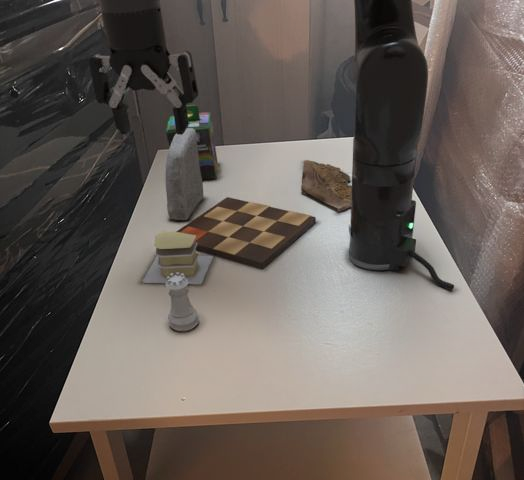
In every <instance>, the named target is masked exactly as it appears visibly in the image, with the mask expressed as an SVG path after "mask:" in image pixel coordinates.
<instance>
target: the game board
mask: <svg viewBox="0 0 524 480" xmlns="http://www.w3.org/2000/svg"><path fill="white" fill-rule="evenodd" d="M316 221H317V219H316V216H313V215H310V214H307V213H302V212H298V211H294V210H287V209H282V208H278V207H274V206H270V205H267V204H264V203H263V204H262V203H258V202H254V201H246V200H242V199H239V198H233V197H229V196H226V197H225V198H224V199H222V200H221V201H219V202H218V203H216V204H215V205H212V207H210V208H209V209H207V210H206V211H204V212H203V213H202V214H200V215H198V216H197V217H196V218H194V219H193V220H191V221H189V222H188V223H186V224H185V225H184V226H182V227H180V228H179V229H177V231H175V232H180V233H186V234H191V235H196V237H195V239H194V241H193V242H197V246H196V251H199V252H202V253H205V254H208V255H209V254H210V255H211V256H216V257H218V258H219V257H220V258H223V259H226V260H230V261H233V262H236V263H240V264H243V265H248V266H250V267H255V268H257V269H261V270H263V269H264V268H266V266H268V265H269V264H270V263H271V262H272V261H274V260H275V259H276V258H277V257H278V256H279V255H281V254H282V253H283V252H284V251H285V250H286V249H288V248H289V247H290V246H291V245H292V244H293V243H294V242H295V241H296V240H298V239H299V238H300V237H301V236H302V235H303V234H305V233H306V232H307V231H308V230H310V228H312V227H313V226H314V225H315V224H316Z"/></svg>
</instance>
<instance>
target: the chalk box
mask: <svg viewBox="0 0 524 480" xmlns="http://www.w3.org/2000/svg"><path fill="white" fill-rule="evenodd" d="M186 107H187V111H189V112H191V113H187V114H188V121H189V125H188V128H193V129H194V130H195V131H196V136H197V147H198V158H199V167H200V172H201V177H202V181H209V180H210V181H211V180H214V181H215V180H216V179H217V174H218V163H219V162H218V156H217V155H218V154H217V149H216V141H215V134H214V127H213V121H212V114H211V112H210V111H205V112H199V106H198V105H197V104H186ZM165 133H166V139H167V145H168V149H169V148H170V145H171V143H172V140H173V138H174V136H175V135H176V126H175V120H174V115H171V116H170V117H169V118H168V121H167V126H166V130H165Z"/></svg>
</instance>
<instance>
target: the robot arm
mask: <svg viewBox="0 0 524 480" xmlns="http://www.w3.org/2000/svg"><path fill="white" fill-rule="evenodd" d="M98 3H99V8H100V13H101V17H102V22H103V28H104V32H105V36H106V40H107V46H108V48H109V51H110V52H109V53H110V55H104V53H102V52H98V53H96V54H95V55H93V56H92V57H90V58H89V60H88V61H89V63H88V64H89V67H90V73H91V78H92V83H93V89H94V95H95V99H96V102H97V103H99V104H105V105H108V106H109V108H111V112H112V116H113V120H114V125H115V128H116V129H117V131H119V133H120V134H121V135H127V134H128V133H129V132H131V124H130V118H129V115H128V110H127V105H126V104H127V103H124V102H125V101H124V100H125V98H126V96H127V94H128V93H129V91H130V89H131V90H132V91H140V90H147V91H155V90H158V91H159V92H160V94H161V95H162V96H163V97H166V98H167V99H168V101H170V103H171V104H172V105H173V108H172V114H173V116H174V120H175V126H176V133H177V135H182V134H183V133H184V132H185V130H186V129H187V128H188V125H189V121H188V114H189V113H188V110H187V107H186V105H189V104H191V103H193V102H194V101H195V100H196V99H197V98H198V96H199V90H198V88H199V87H198V84H197V78H196V74H195V73H196V72H195V67H194V62H193V56H192V53H191V52H190V51H189V50H184V51H183V52H182V53H173V54H171V53H170V52H169V50H168V48H167V41H166V32H165V27H164V21H163V14H162V7H161V0H98ZM353 3H354V4H353V5H354V29H355V30H354V34H355V35H354V77H355V83H356V89H355V90H356V91H355V93H356V94H355V117H354V132H353V134H354V135H353V139H352V166H351V168H352V170H351V186H352V194H351V207H350V223H349V224H348V233H349V248H348V259H349V260H350V261H351V263H352V264H354V265H355V266H357V267H359V268H362V269H364V270H370V271H393V272H397V271H398V270H399V268H400V267H406V265H408V263H409V261H411V260H412V259H413V260H415V261H417V262H418V263H420V264H421V265H422V266H423V267H424V268H425V269H426V270H427V271H428V273H429V275H430V277H431V279H432V280H433V282H435V283H436V284H437V285H438V286H440V287H442V288H445V289H448V290H450V291H452V290H453V289H454V288H455V284H453V283H452V282H451V283H450V282H448V281H445V280H443V279H441V278H440V277H439V276H438V273H437V272H436V270H435V267H433V266H432V264H431V263H430V262H428V261H427V260H426V259H425V258H424V257H422V256H421V255H419V254H418V253H416V246H417V239H416V238H413V236H414V226H415V219H416V218H415V217H416V207H417V201H416V200H413V192H414V183H415V182H414V181H415V174H416V164H417V163H416V162H417V154H418V146H419V143H420V141H421V138H422V137H421V136H422V133H423V126H424V117H425V110H426V101H427V93H428V85H429V66H428V61H427V58H426V55H425V53H424V52H423V50H422V48H421V46H420V45H419V43H418V42H419V41H418V38H417V37H418V36H417V32H416V26H415V19H414V18H415V17H414V11H413V9H414V8H413V1H412V0H354V1H353ZM171 66H173V67H174V70H175V71H176V72H177V73H179V75H180V82H181V86H182V89H181V88H180V87H179V86H178V83H177V81H176V79H174V77H173V76H172V75H171V74H170V73H169V70H170V67H171ZM110 68H111V69H112V70H113V71H114V72H115V74H116V75H117V76H118V79H117V81H116V83H115V86H114V87H113V90H112V91H113V92H111V88H110V81H109V75H108V73H109V71H110Z"/></svg>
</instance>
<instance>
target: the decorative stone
mask: <svg viewBox="0 0 524 480" xmlns="http://www.w3.org/2000/svg"><path fill="white" fill-rule="evenodd" d="M164 172H165V192H166V208H167V210H166V211H167V214H168V216H169V218H170V219H172V220H175V221H187V220H189V218H190V216H191V214H192V213H194V211H195V209H196V207H197V206H198V205H199V204H200V202H202V200H203V199H204V184H203V180H202V177H201V172H200V167H199V158H198V147H197V136H196V131H195V130H194V129H193V128H187V129H186V130H185V132H184V133H183V134H182V135H177V133H176V135H175V136H174V138H173V140H172V143H171V145H170V148H169V147H168V151H167V155H166V163H165V171H164Z"/></svg>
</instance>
